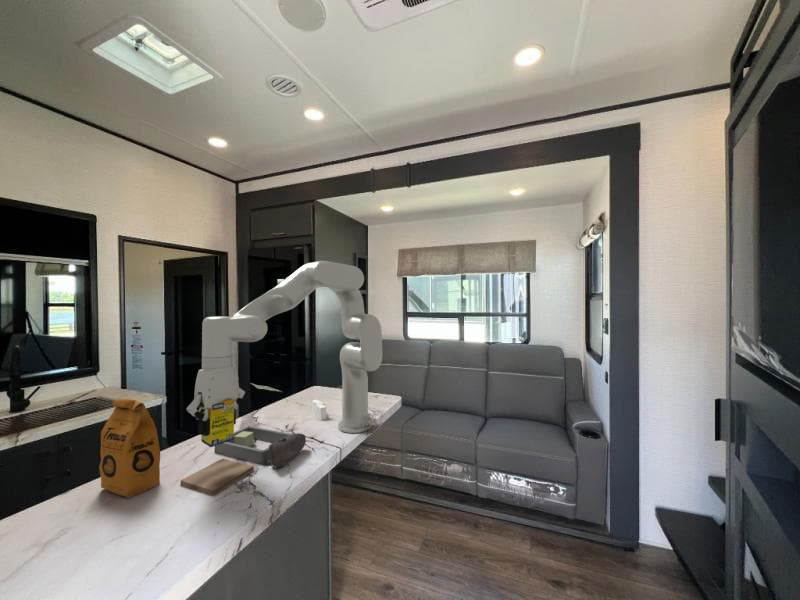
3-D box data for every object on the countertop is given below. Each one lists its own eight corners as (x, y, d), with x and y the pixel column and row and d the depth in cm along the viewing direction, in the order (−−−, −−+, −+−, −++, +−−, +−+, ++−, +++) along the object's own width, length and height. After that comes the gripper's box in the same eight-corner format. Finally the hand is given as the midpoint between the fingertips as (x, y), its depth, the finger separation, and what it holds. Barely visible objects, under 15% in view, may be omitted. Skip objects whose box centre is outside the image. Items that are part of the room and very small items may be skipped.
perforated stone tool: (299, 447, 100) (299, 425, 100) (312, 450, 98) (312, 428, 98) (261, 470, 86) (261, 445, 86) (276, 474, 84) (276, 448, 84)
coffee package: (119, 505, 71) (119, 409, 72) (94, 491, 77) (94, 402, 77) (167, 482, 80) (167, 397, 81) (141, 471, 86) (141, 392, 86)
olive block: (253, 444, 102) (253, 432, 102) (244, 449, 98) (244, 437, 98) (242, 443, 103) (242, 431, 103) (234, 448, 99) (234, 436, 99)
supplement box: (210, 448, 78) (210, 404, 78) (200, 441, 82) (201, 400, 82) (234, 439, 83) (234, 399, 83) (224, 434, 87) (224, 395, 87)
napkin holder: (309, 410, 135) (309, 397, 135) (335, 410, 135) (335, 397, 135) (298, 424, 120) (298, 409, 120) (327, 424, 120) (327, 409, 120)
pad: (253, 470, 86) (253, 466, 86) (213, 495, 75) (213, 490, 75) (222, 462, 90) (222, 458, 90) (180, 485, 79) (180, 480, 79)
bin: (294, 445, 101) (294, 434, 101) (263, 464, 89) (263, 452, 89) (248, 435, 109) (248, 425, 109) (214, 452, 97) (214, 441, 97)
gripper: (236, 356, 92) (235, 416, 92) (175, 367, 76) (174, 440, 76) (255, 358, 89) (254, 419, 89) (196, 369, 73) (195, 445, 73)
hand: (218, 428), depth 83 cm, fingers closed on supplement box, 7 cm apart
